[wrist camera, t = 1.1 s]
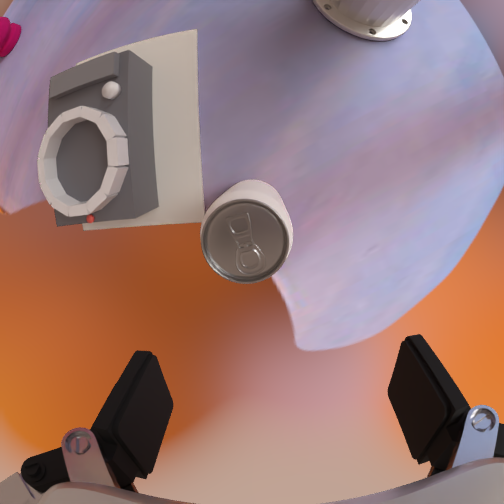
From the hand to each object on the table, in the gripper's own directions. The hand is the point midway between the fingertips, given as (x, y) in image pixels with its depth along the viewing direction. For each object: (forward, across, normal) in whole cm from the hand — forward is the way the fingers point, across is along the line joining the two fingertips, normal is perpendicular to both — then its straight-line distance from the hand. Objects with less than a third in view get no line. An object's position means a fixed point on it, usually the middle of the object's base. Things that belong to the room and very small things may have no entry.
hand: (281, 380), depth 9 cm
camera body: (+21, +16, -12) cm, 29 cm away
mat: (+21, +14, -13) cm, 29 cm away
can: (+22, +2, -2) cm, 22 cm away
